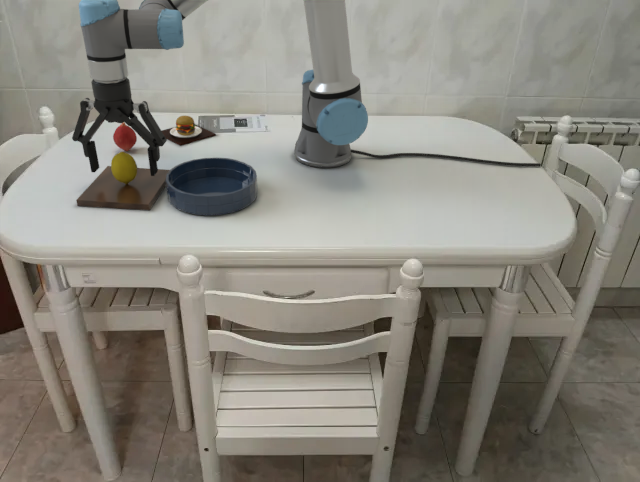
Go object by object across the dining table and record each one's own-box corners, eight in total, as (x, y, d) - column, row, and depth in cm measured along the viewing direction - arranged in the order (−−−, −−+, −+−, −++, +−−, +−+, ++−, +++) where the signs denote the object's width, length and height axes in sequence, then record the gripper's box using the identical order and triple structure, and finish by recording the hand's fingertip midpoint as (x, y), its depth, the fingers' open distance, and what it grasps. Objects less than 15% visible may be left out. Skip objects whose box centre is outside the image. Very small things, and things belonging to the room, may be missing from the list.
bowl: (262, 178, 137) (262, 160, 135) (249, 219, 120) (248, 198, 118) (181, 174, 138) (179, 155, 135) (156, 213, 121) (153, 192, 118)
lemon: (132, 190, 126) (127, 157, 122) (109, 187, 127) (103, 155, 123) (143, 180, 131) (138, 148, 126) (121, 177, 132) (116, 145, 127)
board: (172, 175, 137) (172, 169, 136) (149, 210, 122) (148, 204, 121) (108, 171, 137) (107, 165, 137) (77, 206, 122) (76, 199, 121)
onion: (110, 152, 147) (105, 123, 143) (125, 145, 152) (120, 116, 147) (129, 156, 145) (124, 127, 141) (142, 149, 150) (138, 120, 146)
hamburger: (191, 124, 167) (190, 106, 164) (215, 135, 160) (214, 117, 157) (156, 133, 160) (154, 115, 157) (180, 145, 153) (178, 126, 150)
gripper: (174, 76, 119) (183, 168, 130) (59, 70, 119) (78, 161, 131) (164, 87, 112) (174, 182, 124) (42, 80, 113) (63, 175, 124)
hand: (124, 171), depth 127 cm, fingers open, 13 cm apart
